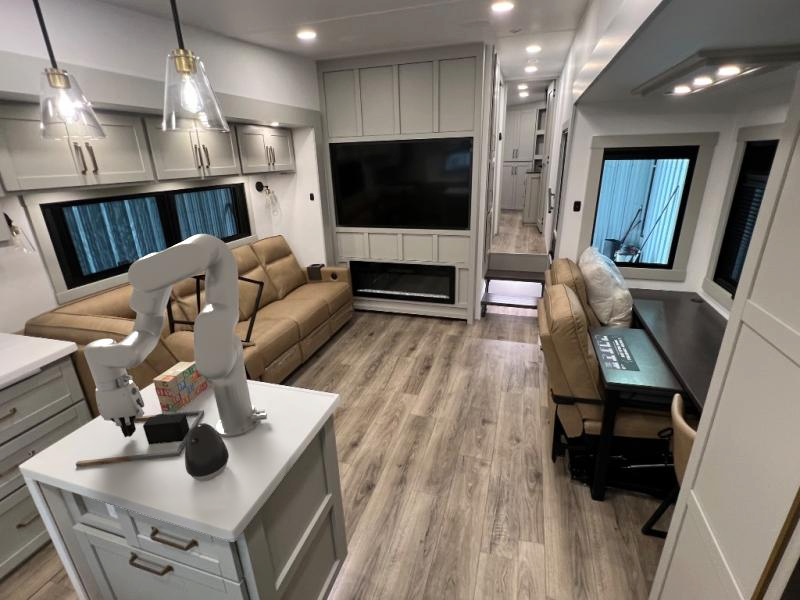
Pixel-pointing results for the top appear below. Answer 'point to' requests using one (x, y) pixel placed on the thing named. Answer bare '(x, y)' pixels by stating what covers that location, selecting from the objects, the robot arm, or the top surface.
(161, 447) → the top surface
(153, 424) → the digital camera
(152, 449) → the top surface
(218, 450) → the black rounded mouse
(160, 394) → the stack of blocks
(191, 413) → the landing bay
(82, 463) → the shelf lane
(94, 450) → the top surface
